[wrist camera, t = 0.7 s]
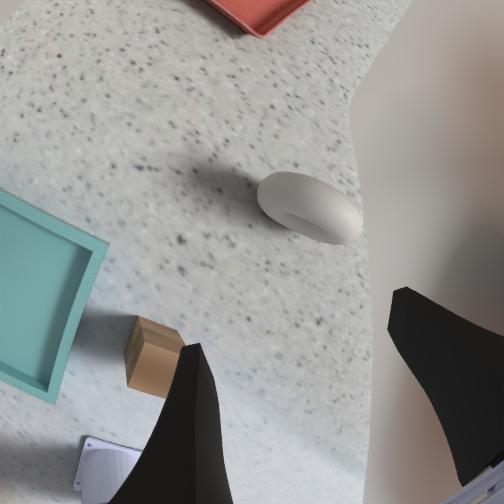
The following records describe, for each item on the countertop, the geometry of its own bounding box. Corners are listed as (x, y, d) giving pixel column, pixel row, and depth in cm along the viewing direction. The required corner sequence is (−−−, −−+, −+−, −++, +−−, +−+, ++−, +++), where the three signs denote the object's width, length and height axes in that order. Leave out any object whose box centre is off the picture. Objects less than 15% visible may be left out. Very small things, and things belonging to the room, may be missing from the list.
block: (162, 366, 29) (175, 401, 23) (124, 352, 28) (127, 386, 21) (177, 330, 29) (194, 359, 23) (138, 315, 28) (144, 341, 22)
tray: (58, 392, 25) (55, 405, 23) (-67, 323, 19) (-78, 330, 16) (109, 243, 26) (108, 245, 24) (-27, 173, 20) (-38, 169, 18)
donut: (234, 203, 31) (285, 195, 22) (249, 172, 31) (303, 153, 22) (312, 247, 35) (377, 256, 25) (324, 218, 35) (390, 219, 26)
